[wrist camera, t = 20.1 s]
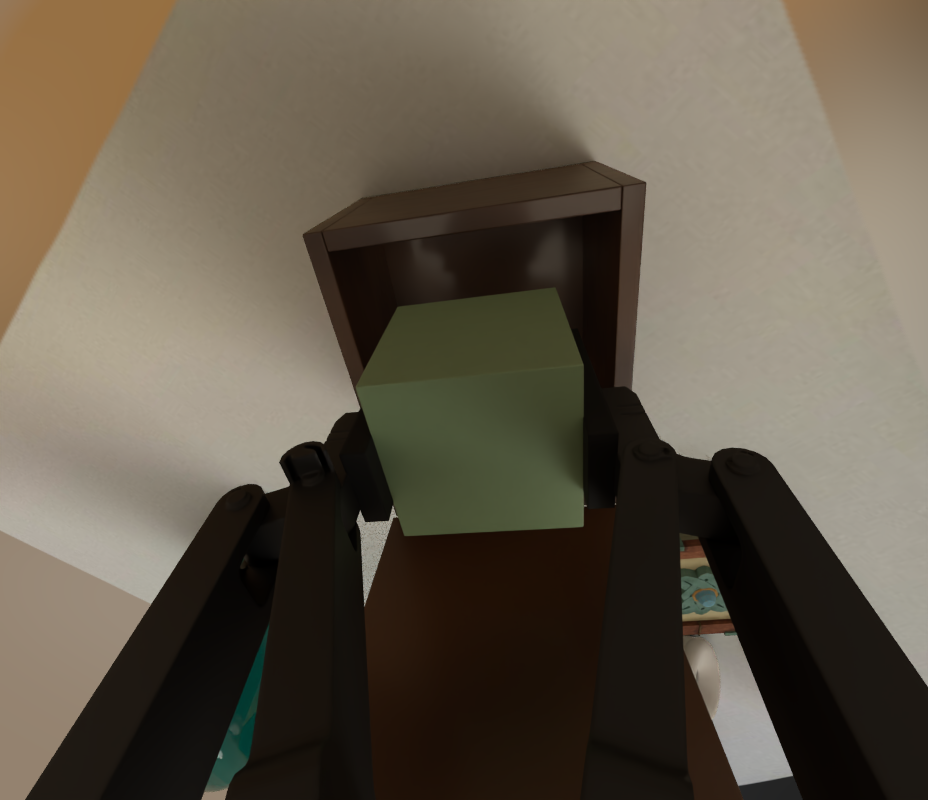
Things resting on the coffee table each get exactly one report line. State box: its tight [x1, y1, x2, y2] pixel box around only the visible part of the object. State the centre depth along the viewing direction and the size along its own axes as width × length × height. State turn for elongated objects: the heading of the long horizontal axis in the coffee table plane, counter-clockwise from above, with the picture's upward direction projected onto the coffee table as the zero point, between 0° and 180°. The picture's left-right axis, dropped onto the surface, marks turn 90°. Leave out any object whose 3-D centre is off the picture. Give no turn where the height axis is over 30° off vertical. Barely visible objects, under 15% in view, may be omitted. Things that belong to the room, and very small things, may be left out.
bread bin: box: [303, 161, 646, 516], centre depth 23 cm, size 16×13×9 cm
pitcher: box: [204, 559, 269, 792], centre depth 32 cm, size 10×8×22 cm
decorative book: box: [680, 533, 737, 636], centre depth 35 cm, size 13×18×5 cm
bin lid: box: [364, 505, 743, 800], centre depth 17 cm, size 16×13×6 cm
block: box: [356, 287, 584, 536], centre depth 15 cm, size 6×6×6 cm
